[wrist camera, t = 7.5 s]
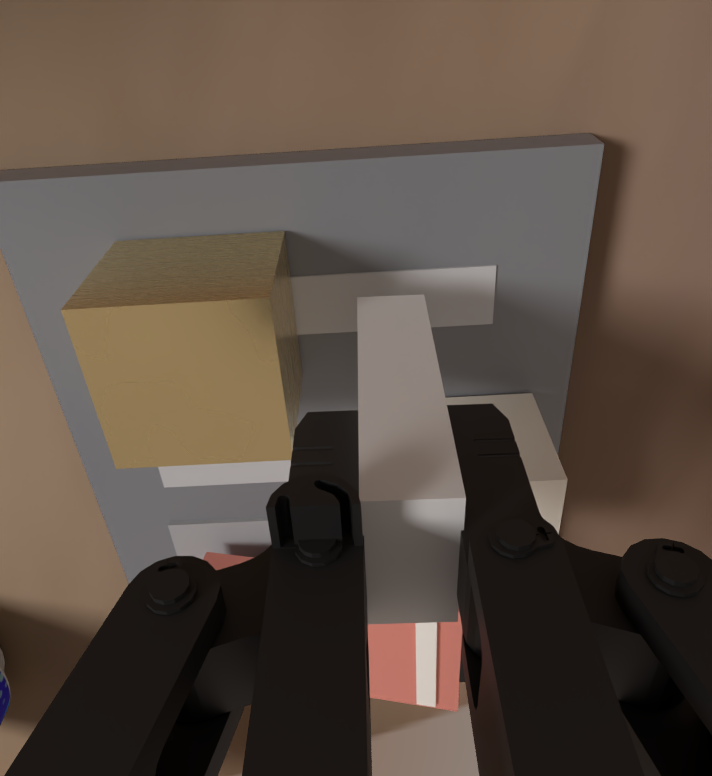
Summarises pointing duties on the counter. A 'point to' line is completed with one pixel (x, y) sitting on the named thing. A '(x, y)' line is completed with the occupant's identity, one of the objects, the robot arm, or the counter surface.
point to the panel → (319, 289)
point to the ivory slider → (531, 449)
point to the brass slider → (191, 349)
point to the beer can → (3, 689)
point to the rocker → (404, 656)
